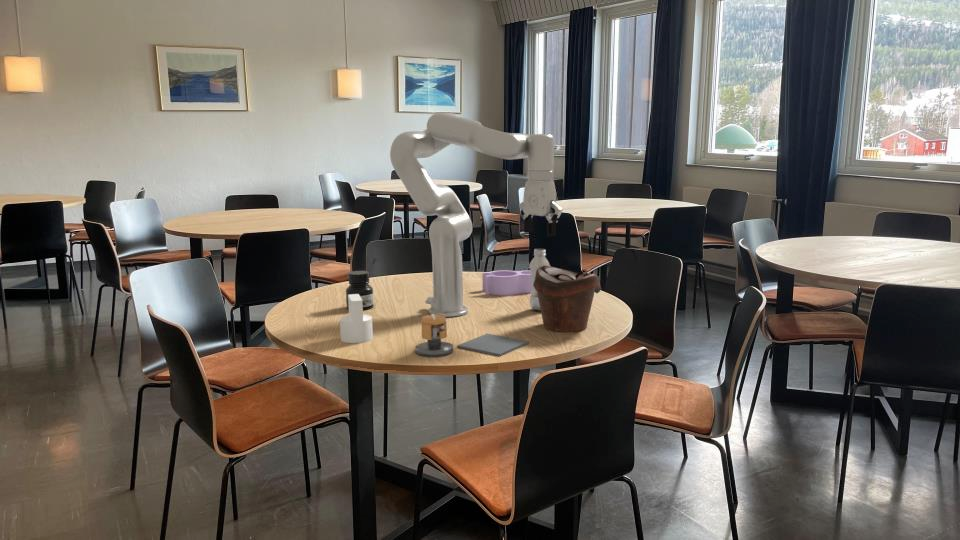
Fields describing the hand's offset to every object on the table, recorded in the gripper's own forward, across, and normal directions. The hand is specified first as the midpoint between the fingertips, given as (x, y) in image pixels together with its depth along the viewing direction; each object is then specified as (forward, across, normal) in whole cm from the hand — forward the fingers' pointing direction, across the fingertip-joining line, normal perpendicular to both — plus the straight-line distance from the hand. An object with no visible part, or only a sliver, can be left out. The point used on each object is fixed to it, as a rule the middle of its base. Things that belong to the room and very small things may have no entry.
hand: (539, 234), depth 212 cm
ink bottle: (+28, -53, -32) cm, 68 cm away
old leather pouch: (+27, +10, +2) cm, 29 cm away
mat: (+27, +10, -27) cm, 39 cm away
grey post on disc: (+27, +4, -42) cm, 50 cm away
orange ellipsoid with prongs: (+23, +4, -42) cm, 48 cm away
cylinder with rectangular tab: (+28, -20, -52) cm, 62 cm away
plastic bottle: (+27, -10, +10) cm, 31 cm away
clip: (+28, -38, +22) cm, 52 cm away
